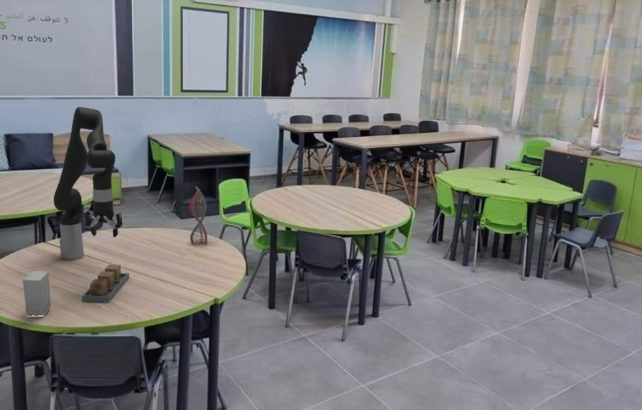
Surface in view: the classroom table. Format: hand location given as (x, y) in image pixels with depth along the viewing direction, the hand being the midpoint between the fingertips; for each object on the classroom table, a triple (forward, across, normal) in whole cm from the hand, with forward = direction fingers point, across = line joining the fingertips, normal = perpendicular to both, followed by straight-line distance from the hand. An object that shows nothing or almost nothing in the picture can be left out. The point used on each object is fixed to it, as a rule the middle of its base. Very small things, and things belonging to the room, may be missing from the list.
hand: (104, 236), depth 228 cm
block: (+21, -2, +12) cm, 24 cm away
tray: (+22, -2, +4) cm, 23 cm away
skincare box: (+23, +14, +27) cm, 38 cm away
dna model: (+23, -25, -57) cm, 67 cm away
